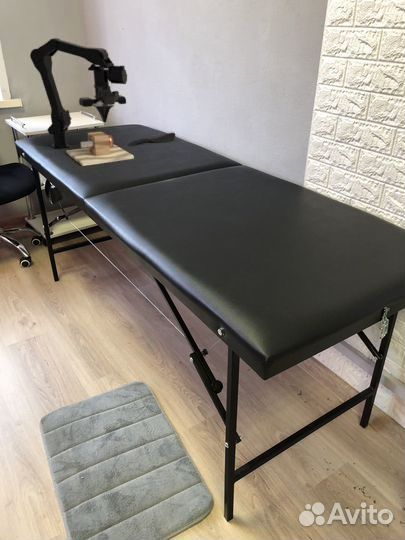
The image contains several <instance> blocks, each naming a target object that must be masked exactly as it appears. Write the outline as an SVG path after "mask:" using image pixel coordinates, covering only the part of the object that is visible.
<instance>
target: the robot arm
mask: <svg viewBox="0 0 405 540" xmlns="http://www.w3.org/2000/svg"><path fill="white" fill-rule="evenodd" d="M58 51H59V52H62V53H65V54H66V53H67V54H69V55H73V56H76V57H79V58H82V59H84V60H86V61H87V62H89V63H91V65H90V66H89V67H88V68H87V71H93V73H92V74H93V81H94V82H93V83H94V84H93V88H94V93H95V94H94V98H91V97H88V96H85V97H80V98H79V100H78V104H79V106H81V107H84V108H88V107H90V108H91V107H94V108H95V109H96V110H97V112H98V113H99V115H100V118H101V120H102V122H103V123H107V120H108V116H109V112H110V110H111V109H112V108H113V107H114V105H115V103H118V105H127V98H126V97H125V96H123V95H122V94H120V92H119V91H118V90H113V91H112V90H111V86H110V85H109V84H110V83H111V84H116V85H126V84H127V81H128V74H127V70H126V68H125V65H115V64H114V62H113V61H112V60H111V58H110V57H109V53H108V51H107V50H106V49H105V48H102V47H91V46H90V47H87V46H83V45H80V44H77V43H73V42H70V41H66V40H62V39H60V38H57V37H56V38H50V39H49V40H48V41H47V42H45V43H43V45H41V46H39V47H38V48H34V49H32V50H31V51H30V53H29V54H30V55H29V58H30V59H31V62H32V64H33V66H34V68H35V69H36V70H37V71H38V73H39V74H40V78H41V80H42V84H43V87H44V90H45V94H46V96H47V99H48V103H49V106H50V120H51V124H50V125H49V126H48V128H47V132H48V134H49V135H51V136H52V144H50V145H51V147H52V148H54V149H66V148H70V147H71V146H70V145H69V144H68V142H67V135H66V132H67V131H69V127H70V126H71V124H72V121H71V120H72V117H71V114H70V111H69V109H68V110H67V109H65V108H64V106H63V103H62V101H61V98H60V97H61V96H60V94H59V91H58V88H57V85H56V81H55V78H54V75H53V70H52V69H53V60H52V58H53V56H55V55H56V53H57V52H58ZM109 82H110V83H109Z"/></svg>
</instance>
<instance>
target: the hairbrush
mask: <svg viewBox="0 0 405 540" xmlns="http://www.w3.org/2000/svg"><path fill="white" fill-rule="evenodd" d="M175 138H176V133H175V132H173V131H172V130H171V131H169V132H168V133H165V134H163V135H162V134H160V135H158V134H157V135H155V137H154V136H149V138H147V137H145V138H139V139H135V140H133V141H131V142H129V143H128V146H131V147H134V146H137V145H138V144H141V143H143V142H151V143H154V144H165V143H170V142H173V141H174V139H175Z"/></svg>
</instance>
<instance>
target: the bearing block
mask: <svg viewBox="0 0 405 540" xmlns="http://www.w3.org/2000/svg"><path fill="white" fill-rule="evenodd" d="M87 141H93V147H86V148H76V149H71V150H70V149H69V150H68V149H67V150H66V155H68V156H69V157H71V158H72V159H73V160H74V161H76V162H77V163H78V164H80V165H81V166H82V167H83V166H91V165H92V166H93V165H99V164H105V163H106V164H107V163H113V162H118V161H127V160H134V158H135V156H134V155H133V154H132V153H130V152H128V151H126V150H124V149H123V148H121V147H120V146H118V145H116V144H114V145H113V147H112V148H110V147H109V136H108V134H106V133H105V132H103V131H94V132H87Z"/></svg>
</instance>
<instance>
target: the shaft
mask: <svg viewBox="0 0 405 540" xmlns="http://www.w3.org/2000/svg"><path fill="white" fill-rule="evenodd" d="M107 135H108V134H107ZM108 136H109V147H110V148H112V147H113V145H115V144H114V138H113V136H112V135H111V134H110V135H108ZM79 145H80V149H84V148H89V147H93V141H88V140H86V141H80V142H79Z"/></svg>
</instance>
